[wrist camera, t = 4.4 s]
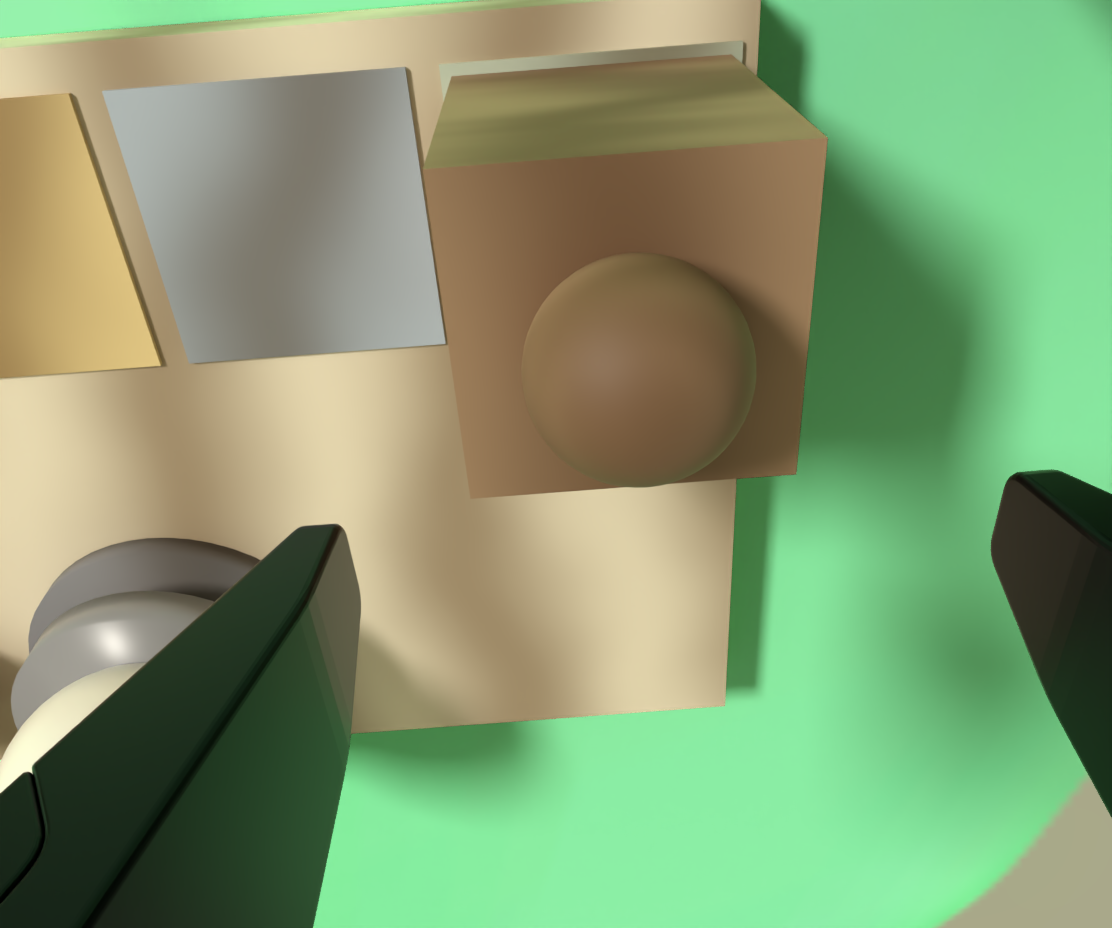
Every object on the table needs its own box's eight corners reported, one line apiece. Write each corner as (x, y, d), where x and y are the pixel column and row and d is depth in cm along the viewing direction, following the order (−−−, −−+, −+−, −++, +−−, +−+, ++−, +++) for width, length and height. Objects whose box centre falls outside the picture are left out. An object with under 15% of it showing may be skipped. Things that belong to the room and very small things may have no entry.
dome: (281, 579, 21) (212, 788, 16) (340, 774, 24) (298, 989, 20) (-17, 602, 21) (-172, 816, 16) (87, 792, 24) (-15, 1012, 20)
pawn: (731, 54, 16) (898, 200, 9) (721, 313, 19) (845, 580, 12) (451, 76, 16) (400, 237, 9) (482, 332, 19) (462, 609, 12)
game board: (743, -20, 17) (806, 10, 13) (714, 674, 27) (746, 801, 23) (-530, 80, 17) (-817, 137, 13) (-90, 733, 27) (-184, 869, 24)
